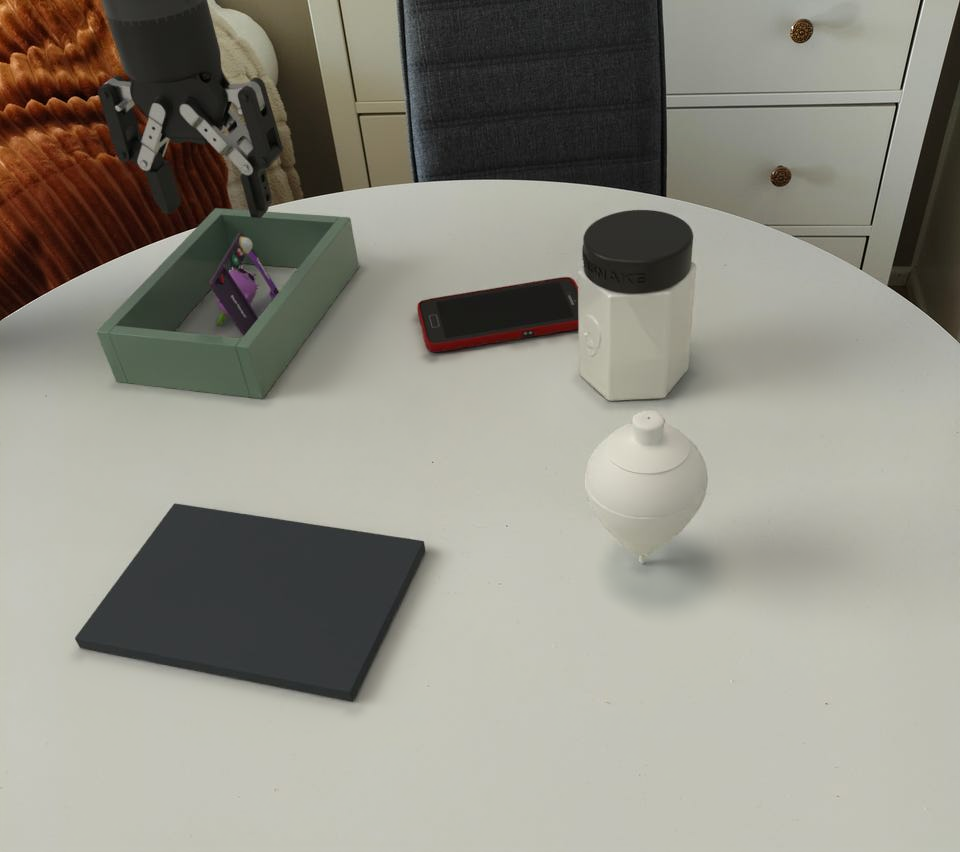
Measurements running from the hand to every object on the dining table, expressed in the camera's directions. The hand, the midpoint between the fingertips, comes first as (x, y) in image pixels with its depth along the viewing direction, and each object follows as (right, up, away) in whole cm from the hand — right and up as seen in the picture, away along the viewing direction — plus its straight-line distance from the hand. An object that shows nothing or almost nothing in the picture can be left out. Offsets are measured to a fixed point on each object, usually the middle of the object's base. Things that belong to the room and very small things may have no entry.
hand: (215, 211), depth 88 cm
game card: (+1, -7, +8) cm, 11 cm away
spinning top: (+34, -32, -18) cm, 50 cm away
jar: (+35, -15, -3) cm, 38 cm away
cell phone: (+25, -8, +4) cm, 26 cm away
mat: (+7, -34, -17) cm, 39 cm away
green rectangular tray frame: (+1, -7, +8) cm, 10 cm away
